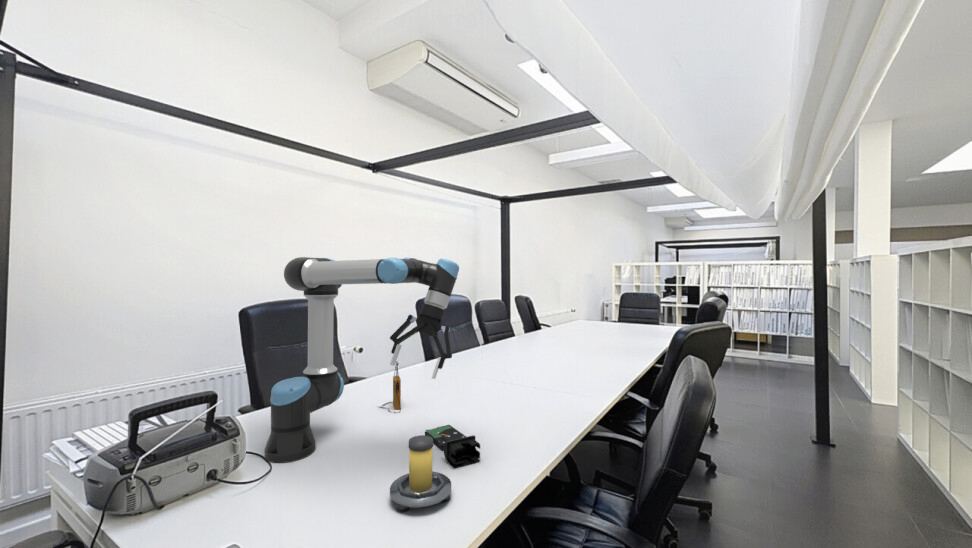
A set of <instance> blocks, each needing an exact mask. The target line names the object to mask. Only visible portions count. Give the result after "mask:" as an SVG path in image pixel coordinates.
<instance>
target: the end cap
mask: <svg viewBox="0 0 972 548" xmlns="http://www.w3.org/2000/svg"><path fill="white" fill-rule="evenodd" d="M477 448H478V449H481V443H480V442H478V441H477V440H476V435H469V436H466V437H464V438H460V439H455V440H451V441H447V442H445V443H444V447H443V451H442V452H443V455H444V456H443V457H444V459H445V460H446V462H447V464H449V466H451V467H452V468H453V470H455V469H460V468H463V467H467V466H470V465H474V464H478V463H479V462H480V458H481V452H480V451H479V450H478V449H477ZM452 468H451V469H452Z"/></svg>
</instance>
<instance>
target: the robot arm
mask: <svg viewBox="0 0 972 548" xmlns="http://www.w3.org/2000/svg"><path fill="white" fill-rule="evenodd" d="M459 270H460V266H459V264H457V262H455V261H453V260H450V259H447V258H439V259H438V261H436V263H433V262H428V261H424V260H420V259H417V258H414V257H404V258H398V257H387V258H379V259H377V258H376V259H373V258H371V259H350V260H335V259H332V258H327V257H326V258H325V257H308V256H302V257H301V256H299V257H295V258H293V259H291V260H290V261H288V263H287V264H286V265H285V267H284V269H283V277H284V281H285V282H286V284H287V286H289V288H290V289H291V288H292V289H293V290H295V291H300V292H303V297H305V298H306V299H307V303H308V304H307V366H306V367H305V368H304V370H302V376H295V377H291V378H289V377H288V378H285V379H283V380H282V379H281V380H280V381H278V382H277V383H275V384H274V385H273V386H272V388H271V390H270V391H271V392H270V399H269V401H270V433H269V437H268V440H267V442H266V445H265V448H264V459H265V458H266V459H267V460H268V462H271V463H289V462H294V461H295V462H296V461H298V460H301V459H303V458H307V457H308V456H311V454H313V453H314V452H315V451H316V447H317V443H316V438H315V436H314V432H313V430H312V428H311V414H312V413H314V412H315V411H316V412H317V411H319V410H320V409H323V408H325V407H328V406H330V405H331V404H333V403H336V401H338V400H339V399H340V398H341V396H342V394H343V392H344V388H345V382H344V379H343V377H342V376H341V375H342V374H340V373H339V372H338V367H336V365H334V321H335V320H334V317H335V316H334V314H335V313H334V312H335V311H334V310H335V309H334V307H335V306H334V305H335V299H336V298H337V297H338V296H339V289H340V288H341V287H342V285H364V284H365V285H368V284H369V285H371V284H373V285H375V284H376V285H377V284H389V285H394V284H395V285H398V284H413V283H415V284H421V285H423V286H428V289H427V292H426V295H425V297H424V303H423V304H422V307H421V309H420V312H419V315H418V317H415V316H414V315H412V314H408V315H407V318H406V320H405V321H404V322H403V323H402V324H401V326H399V327H398V328H397V329H396V330H395V331H394V332H393V333H392V334H391V335H390V337H389V339H390V340H391V342H393V346H392V348H391V351H390V352H391V353H390V354H393V356H392V358H391V360H390V362H389V363H390V364H389V365H390V366H396V362H397V359H398V358H399V357H398V356H399V355H400V354H399V353H400V351H401V348H402V344H401V343H403V342H404V341H406V340H407V339H409V338H410V337H412V336H414V335H415V334H418V333H420V334H423V335H427V336H429V337H431V336H432V338H433V340H434V343H435V345H436V348H437V350H438V352H439V355H440V357H437V360H436V363H435V365H434V369H433V372H432V375H431V379H432V380H436V378H437V375H438V371H439V369H440V370H442V369H443V367H444V364H445V361H446V359H452V357H453V354H452V347H451V339H450V331H451V327H450V326H448V325H445V326H444V325H443V324H442V323H443V321H444V318H445V315H446V314H445V313H446V310H445V309H447V308H448V305H449V301H450V300H451V296H452V294H453V290H454V287H455V284H456V281H457V280H458V275H459ZM413 323H416V326H414V327H413V328H411V330H409V331H407V332H406V333H404V334H402V333H403V332H405V330H406V329H407V328H408V327H409V326H410V325H411V324H413ZM441 330H442V333H443V334H444V342H445V350H444V347H443V345H442V343H441V339H440V337H439V334H438V332H439V331H441ZM401 334H402V335H401ZM445 351H446V352H445ZM266 459H265V460H266ZM267 460H266V461H267Z"/></svg>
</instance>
